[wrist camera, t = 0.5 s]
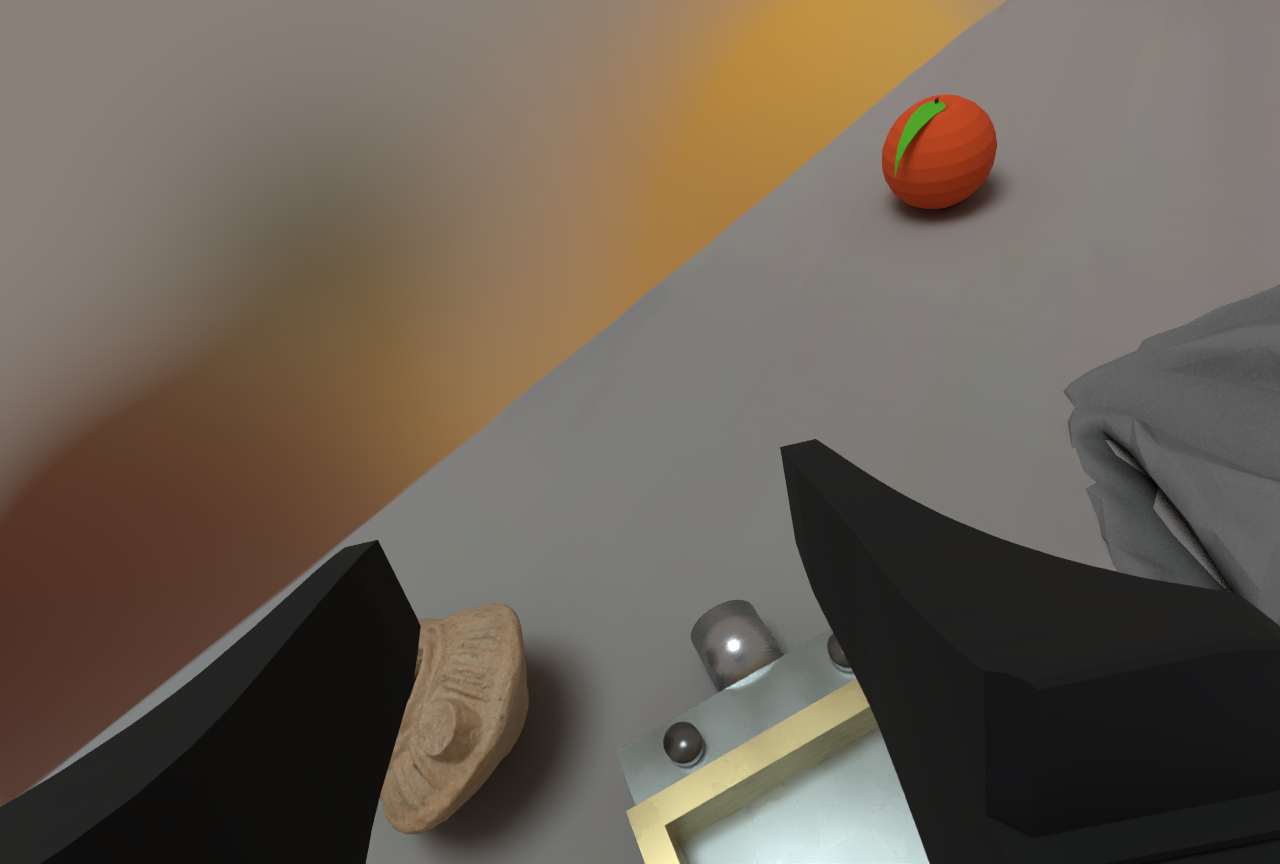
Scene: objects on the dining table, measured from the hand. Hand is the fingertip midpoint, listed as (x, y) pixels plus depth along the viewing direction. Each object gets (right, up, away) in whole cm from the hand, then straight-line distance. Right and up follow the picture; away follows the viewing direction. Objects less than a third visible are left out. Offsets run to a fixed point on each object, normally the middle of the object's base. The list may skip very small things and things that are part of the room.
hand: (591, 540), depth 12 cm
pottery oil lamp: (-7, -11, +21) cm, 24 cm away
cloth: (+27, +1, +19) cm, 33 cm away
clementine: (+21, +17, +36) cm, 45 cm away
